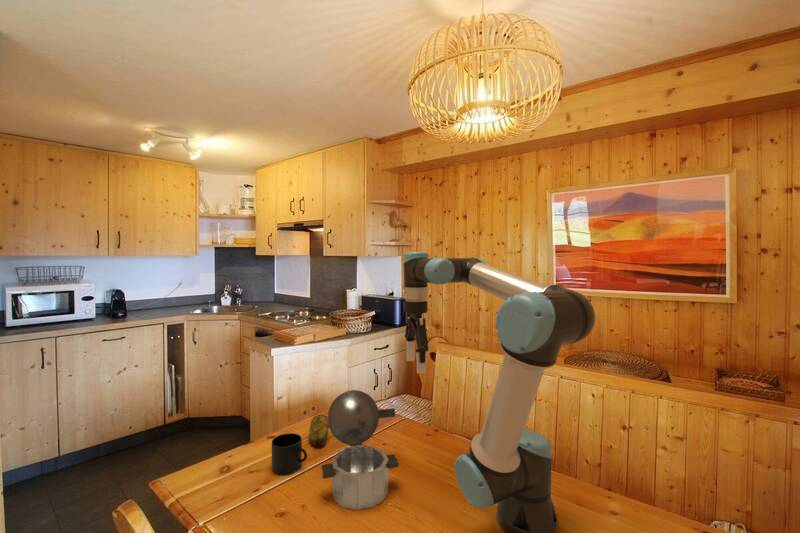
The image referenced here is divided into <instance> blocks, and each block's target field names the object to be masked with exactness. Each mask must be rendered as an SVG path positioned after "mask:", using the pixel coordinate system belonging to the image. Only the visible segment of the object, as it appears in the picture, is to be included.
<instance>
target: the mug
mask: <svg viewBox="0 0 800 533" xmlns="http://www.w3.org/2000/svg"><path fill="white" fill-rule="evenodd" d="M302 443H303V438H302V436H301V435H300V434H298V433H295V432H294V433H292V432H288V433H283V434H280V435H277V436H274V437H273V439H272V440H271V470H272V472H273V473H274V474H276V475H279V476H280V475H283V476H284V475H291V474H293V473H295V472H298V471H299V470H300V469H301V467H302V464H303V462H305V461H306V460H307V458H308V453H307V451H306V449H304V448H303V446H302ZM302 455H304V456H302Z"/></svg>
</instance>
